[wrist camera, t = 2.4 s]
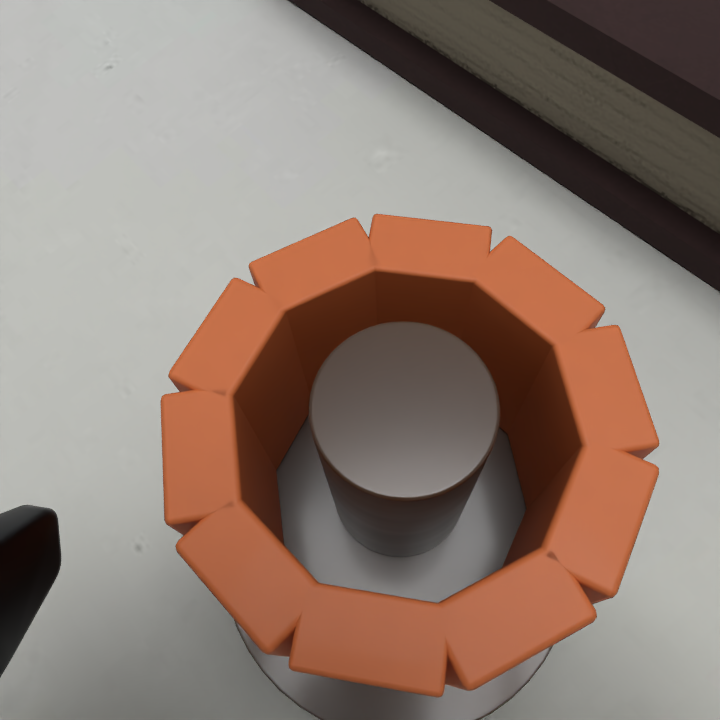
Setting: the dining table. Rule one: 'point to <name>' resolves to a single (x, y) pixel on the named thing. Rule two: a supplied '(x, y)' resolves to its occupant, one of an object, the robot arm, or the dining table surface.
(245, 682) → the dining table surface
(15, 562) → the robot arm
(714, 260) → the book
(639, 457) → the ring
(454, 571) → the peg stand
